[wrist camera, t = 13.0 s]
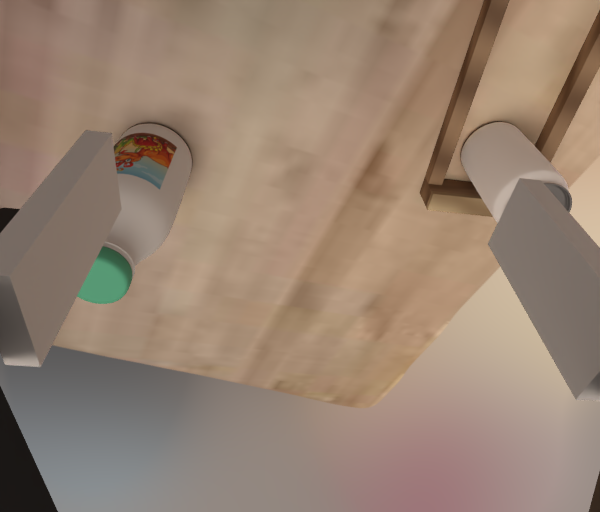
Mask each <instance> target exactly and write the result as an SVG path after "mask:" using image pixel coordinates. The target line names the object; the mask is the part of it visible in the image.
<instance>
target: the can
mask: <svg viewBox="0 0 600 512" xmlns="http://www.w3.org/2000/svg"><path fill="white" fill-rule="evenodd" d="M461 163H462V166H463V168H464V170H465V171H466V173H467V175H468V177H469V178H470V180H471V182H472V183H473V185H474V187H475V188H476V190H477V192H478V193H479V195H480V196H481V198H482V200H483V201H484V203H485V205H486V206H487V208H488V209H489V211H490V213H491V214H492V216H493V217H494V219H495V220H496V222H497V223H498V222H499V220H500V218H501V215H502V213H503V211H504V209H505V207H506V205H507V203H508V201H509V199H510V197H511V194H512V192H513V190H514V188H515V186H516V184H517V182H518V180H519V178H524V179H533V180H541V181H542V182H543V183H544V184H545V186H546V187H547V188H548V189H549V190H550V191H551V192H552V194H553V195H554V196H555V197H556V198H557V199H558V201H559V202H560V203H561V204H562V205H563V206H564V207H565V209H566V210H567V211H568V212H570V210H571V206H572V198H571V195H570V193H569V191H568V185H567V183H566V181H565V179H564V178H563V177H562V175H561V174H560V173H559V172H558V171H557V170H556V169H555V168H554V166H553V165H552V164H551V163H550V162H549V161H548V160H547V159H546V158H545V157H544V156H543V155H542V153H541V152H540V151H539V150H538V149H537V148H536V147H535V146H534V145H533V144H532V143H531V142H530V141H529V140H528V139H527V137H526V136H525V135H524V134H523V133H522V132H521V131H520V130H519V129H518V128H517V127H515V126H514V125H512V124H509V123H505V122H495V123H490V124H487V125H485V126H483V127H481V128H479V129H478V130H476V131H475V132H474V133H473V134H472V135H471V136H470V137H469V138H468V139H467V141H466V142H465V144H464V146H463V148H462V152H461Z"/></svg>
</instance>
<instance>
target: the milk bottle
mask: <svg viewBox="0 0 600 512" xmlns="http://www.w3.org/2000/svg"><path fill="white" fill-rule="evenodd" d="M114 154H115V162H116V170H117V178H118V185H119V193H120V201H121V211H120V213H119V215H118V217H117V219H116V221H115V223H114V225H113V227H112V229H111V231H110V233H109V235H108V237H107V239H106V240H105V242H104V244H103V246H102V248H101V250H100V252H99V254H98V256H97V258H96V260H95V262H94V264H93V266H92V268H91V270H90V272H89V274H88V275H87V277H86V279H85V281H84V283H83V285H82V287H81V289H80V291H79V293H78V295H77V297H79V298H81V299H83V300H86V301H88V302H92V303H98V304H107V303H112V302H115V301H118V300H119V299H121V298H122V297H123V296H124V295H125V294H126V292H127V291H128V288H129V286H130V284H131V281H132V278H133V276H134V273H135V266H136V265H137V264H138V263H139V262H141V261H142V260H144V259H146V258H147V257H149V256H150V255H152V254H153V253H154V252H155V251H156V250H157V249H158V248H159V247H160V246H161V245H162V244H163V242H164V241H165V239H166V238H167V236H168V234H169V232H170V230H171V227H172V225H173V223H174V220H175V217H176V214H177V212H178V209H179V206H180V203H181V200H182V197H183V195H184V192H185V189H186V186H187V183H188V180H189V177H190V173H191V169H192V157H191V153H190V151H189V148H188V147H187V145H186V143H185V142H184V141H183V140H182V138H181V137H180V136H179V135H178V134H176V133H175V132H174V131H172V130H170V129H169V128H167V127H164V126H161V125H157V124H139V125H136V126H133V127H131V128H130V129H128V130H127V131H126V132H124V134H123V135H122V136H121V137H120V139H119V140H118V141H117V143H116V144H115V146H114Z"/></svg>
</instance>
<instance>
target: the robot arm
mask: <svg viewBox="0 0 600 512" xmlns="http://www.w3.org/2000/svg"><path fill="white" fill-rule="evenodd" d="M120 211H121V201H120V193H119V185H118V178H117V170H116V162H115V154H114V146H113V138H112V133H106V132H97V131H88V130H86V131H85V132H84V133H83V134H82V135H81V137H80V138H79V139H78V140H77V141H76V143H75V144H74V145H73V146H72V147H71V149H70V150H69V151H68V152H67V153H66V155H65V156H64V157H63V158H62V159H61V161H60V162H59V163H58V164H57V165H56V167H55V168H54V169H53V170H52V172H51V173H50V174H49V175H48V176H47V178H46V179H45V180H44V181H43V182H42V184H41V185H40V186H39V187H38V188H37V190H36V191H35V192H34V193H33V194H32V196H31V197H30V198H29V199H28V200H27V202H26V203H25V204H24V205H23V206H22V208H21V209H12V208H2V209H0V353H1V356H2V358H3V360H4V363H5V365H18V366H19V365H20V366H35V367H41V365H42V363H43V361H44V359H45V357H46V355H47V353H48V351H49V349H50V347H51V346H52V344H53V342H54V340H55V338H56V336H57V334H58V332H59V330H60V328H61V326H62V324H63V322H64V320H65V318H66V316H67V314H68V312H69V310H70V309H71V307H72V305H73V303H74V301H75V299H76V297H77V295H78V293H79V291H80V289H81V287H82V285H83V283H84V281H85V279H86V277H87V275H88V274H89V272H90V270H91V268H92V266H93V264H94V262H95V260H96V258H97V256H98V254H99V252H100V250H101V248H102V246H103V244H104V242H105V240H106V239H107V237H108V235H109V233H110V231H111V229H112V227H113V225H114V223H115V221H116V219H117V217H118V215H119V213H120ZM488 245H489V247H490V249H491V250H492V252H493V254H494V256H495V257H496V259H497V261H498V263H499V265H500V266H501V268H502V270H503V272H504V273H505V275H506V277H507V279H508V280H509V282H510V284H511V286H512V288H513V289H514V291H515V292H516V294H517V296H518V298H519V300H520V302H521V303H522V305H523V307H524V309H525V311H526V312H527V314H528V316H529V318H530V319H531V321H532V323H533V325H534V326H535V328H536V330H537V332H538V333H539V335H540V337H541V339H542V341H543V342H544V344H545V346H546V348H547V349H548V351H549V353H550V355H551V356H552V358H553V360H554V362H555V364H556V365H557V367H558V369H559V371H560V373H561V374H562V376H563V378H564V380H565V381H566V383H567V385H568V387H569V388H570V390H571V392H572V394H573V395H574V397H575V399H576V400H590V401H600V248H599V247H598V245H597V244H596V243H595V242H594V241H593V240H592V239H591V237H590V236H589V235H588V234H587V233H586V232H585V231H584V229H583V228H582V227H581V226H580V225H579V224H578V222H577V221H576V220H575V219H574V218H573V217H572V216H571V214H570V213H569V212H568V211H567V210H566V209H565V207H564V206H563V205H562V204H561V203H560V202H559V201H558V199H557V198H556V197H555V196H554V195H553V194H552V192H551V191H550V190H549V189H548V188H547V187H546V186H545V184H544V183H543V182H542V181H541V180H533V179H524V178H519V180H518V182H517V184H516V186H515V188H514V190H513V192H512V194H511V197H510V199H509V201H508V203H507V205H506V207H505V209H504V211H503V213H502V215H501V218H500V220H499V222H498V224H497V226H496V228H495V230H494V232H493V234H492V236H491V238H490V241H489V243H488ZM0 512H58V511H57V509H56V507H55V505H54V502H53V500H52V498H51V496H50V494H49V491H48V489H47V487H46V485H45V483H44V481H43V478H42V476H41V475H40V472H39V470H38V468H37V465H36V463H35V461H34V459H33V457H32V454H31V452H30V450H29V448H28V446H27V443H26V441H25V439H24V437H23V435H22V433H21V430H20V428H19V426H18V424H17V422H16V419H15V417H14V415H13V413H12V411H11V409H10V406H9V404H8V402H7V400H6V398H5V395H4V393H3V391H2V389H1V387H0ZM589 512H600V472H599V476H598V480H597V484H596V487H595V491H594V494H593V498H592V502H591V506H590V509H589Z"/></svg>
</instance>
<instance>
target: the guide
mask: <svg viewBox="0 0 600 512" xmlns="http://www.w3.org/2000/svg"><path fill="white" fill-rule="evenodd" d="M508 3H509V0H484V3H483V6H482V9H481V12H480V15H479V18H478V21H477V24H476V27H475V30H474V33H473V36H472V39H471V42H470V45H469V48H468V51H467V54H466V57H465V60H464V63H463V66H462V69H461V72H460V75H459V78H458V81H457V84H456V87H455V90H454V93H453V95H452V98H451V101H450V104H449V107H448V110H447V113H446V116H445V119H444V122H443V125H442V128H441V131H440V134H439V137H438V140H437V143H436V146H435V149H434V152H433V155H432V158H431V161H430V164H429V167H428V170H427V173H426V176H425V179H424V182H423V185H422V188H421V191H420V194H421V196H422V199H423V201H424V203H425V206H426V208H427V210H432V211H442V212H451V213H461V214H471V215H481V216H491V217H493V216H492V214H491V213H490V211H489V209H488V208H487V206H486V205H485V203H484V201H483V200H482V198H481V196H480V195H479V193H478V192H477V190H476V188H475V187H474V185H473V183H472V182H467V181H457V180H448V179H444V178H445V175H446V172H447V170H448V167H449V164H450V162H451V159H452V156H453V153H454V151H455V148H456V145H457V142H458V140H459V137H460V134H461V131H462V129H463V126H464V123H465V120H466V118H467V115H468V112H469V110H470V107H471V104H472V101H473V99H474V96H475V93H476V90H477V88H478V85H479V82H480V79H481V77H482V74H483V71H484V68H485V66H486V63H487V60H488V58H489V55H490V52H491V49H492V47H493V44H494V41H495V38H496V36H497V33H498V30H499V27H500V25H501V22H502V19H503V16H504V14H505V11H506V8H507V6H508ZM599 67H600V11H599V13H598V15H597V17H596V20H595V22H594V24H593V26H592V28H591V30H590V32H589V34H588V36H587V38H586V40H585V43H584V45H583V47H582V49H581V51H580V53H579V55H578V57H577V59H576V61H575V63H574V66H573V68H572V70H571V72H570V74H569V76H568V78H567V80H566V82H565V84H564V86H563V88H562V91H561V93H560V95H559V97H558V99H557V101H556V103H555V105H554V107H553V109H552V111H551V114H550V116H549V118H548V120H547V122H546V124H545V126H544V128H543V130H542V132H541V134H540V137H539V139H538V141H537V143H536V145H535V147H536V148H537V149H538V150H539V151H540V152H541V153H542V155H543V156H544V157H545V158H546V159H547V160H548V161H549V162H551V160H552V158H553V156H554V154H555V152H556V150H557V149H558V147H559V145H560V143H561V141H562V139H563V137H564V135H565V133H566V131H567V129H568V127H569V125H570V123H571V121H572V119H573V117H574V115H575V113H576V111H577V110H578V108H579V106H580V104H581V102H582V100H583V98H584V96H585V94H586V92H587V90H588V88H589V86H590V84H591V82H592V80H593V78H594V76H595V74H596V72H597V71H598V69H599Z"/></svg>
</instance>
